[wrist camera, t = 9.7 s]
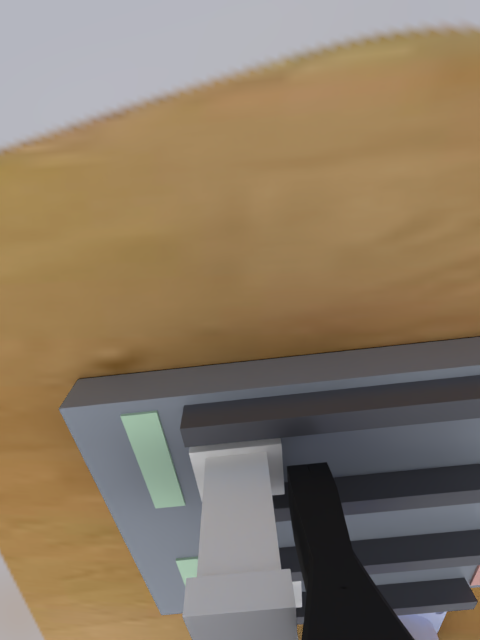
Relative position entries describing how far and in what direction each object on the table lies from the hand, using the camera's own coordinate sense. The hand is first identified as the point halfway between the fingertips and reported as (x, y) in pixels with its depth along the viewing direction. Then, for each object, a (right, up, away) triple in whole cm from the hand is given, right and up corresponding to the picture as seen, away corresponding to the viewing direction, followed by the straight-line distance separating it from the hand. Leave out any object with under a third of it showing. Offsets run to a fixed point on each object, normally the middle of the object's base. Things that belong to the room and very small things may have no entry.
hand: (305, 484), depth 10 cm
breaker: (-2, 0, +1) cm, 2 cm away
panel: (+2, -2, +5) cm, 6 cm away
